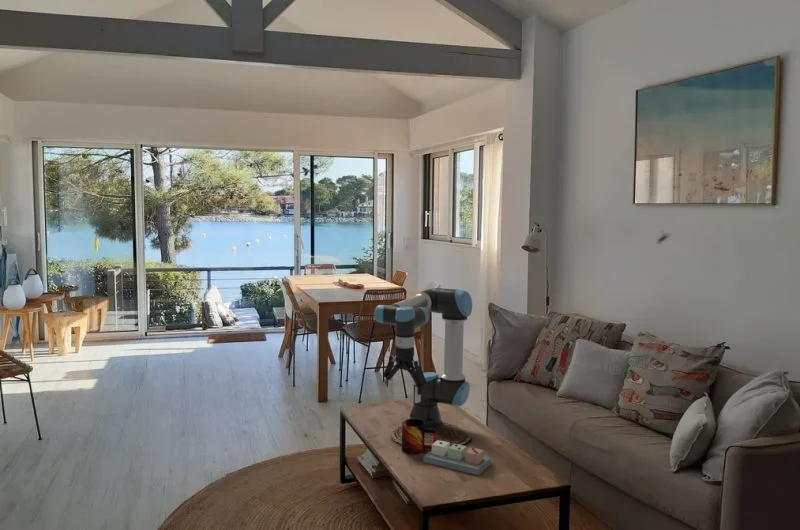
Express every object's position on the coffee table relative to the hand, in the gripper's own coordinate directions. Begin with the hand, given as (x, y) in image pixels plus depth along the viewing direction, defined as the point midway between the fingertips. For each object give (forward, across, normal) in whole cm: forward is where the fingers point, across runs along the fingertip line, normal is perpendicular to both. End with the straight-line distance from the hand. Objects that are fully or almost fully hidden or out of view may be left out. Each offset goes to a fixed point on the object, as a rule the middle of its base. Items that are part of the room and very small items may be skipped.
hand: (404, 398), depth 257 cm
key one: (+25, +9, +14) cm, 30 cm away
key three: (+25, +23, +16) cm, 38 cm away
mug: (+28, -4, +16) cm, 32 cm away
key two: (+25, +16, +15) cm, 33 cm away
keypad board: (+27, +16, +15) cm, 35 cm away
